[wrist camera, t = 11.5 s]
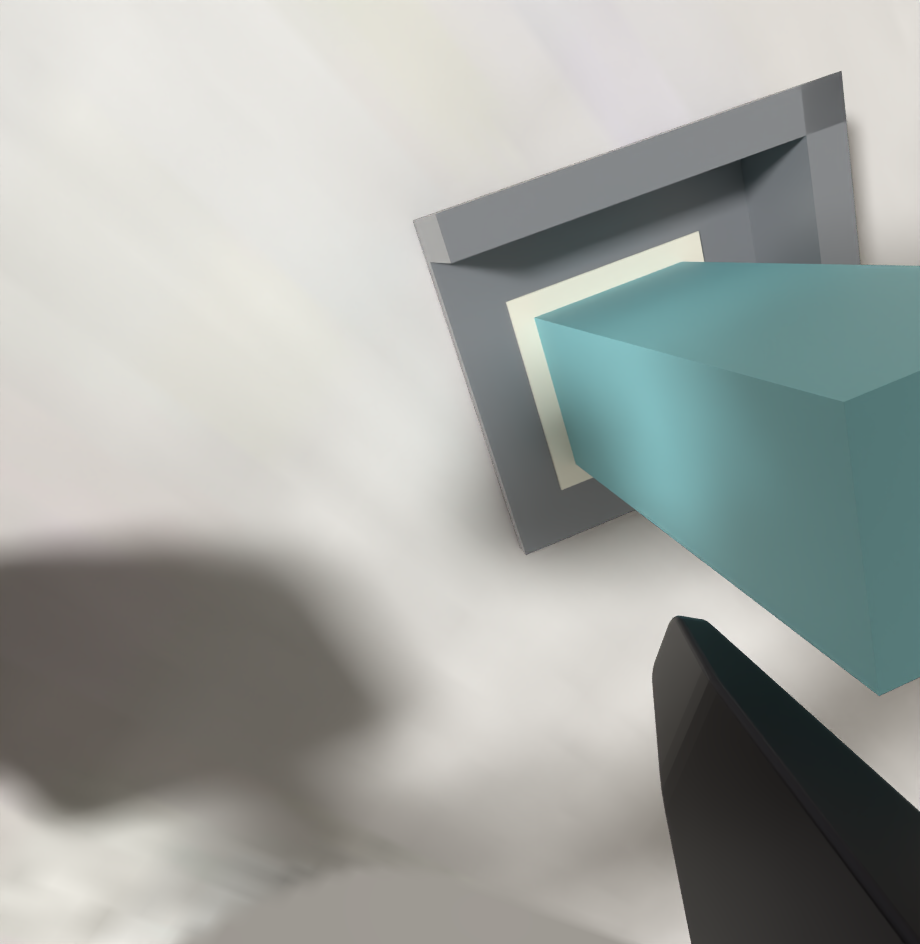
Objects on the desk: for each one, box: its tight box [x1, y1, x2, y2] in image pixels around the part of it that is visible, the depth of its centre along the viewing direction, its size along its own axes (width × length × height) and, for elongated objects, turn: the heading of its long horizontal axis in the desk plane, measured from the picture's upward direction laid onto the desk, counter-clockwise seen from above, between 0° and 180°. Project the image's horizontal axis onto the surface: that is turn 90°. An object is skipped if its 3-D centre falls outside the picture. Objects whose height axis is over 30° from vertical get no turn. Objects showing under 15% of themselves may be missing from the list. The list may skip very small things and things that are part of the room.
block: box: [534, 262, 920, 696], centre depth 16 cm, size 5×5×12 cm
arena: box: [413, 71, 860, 555], centre depth 20 cm, size 11×11×4 cm
